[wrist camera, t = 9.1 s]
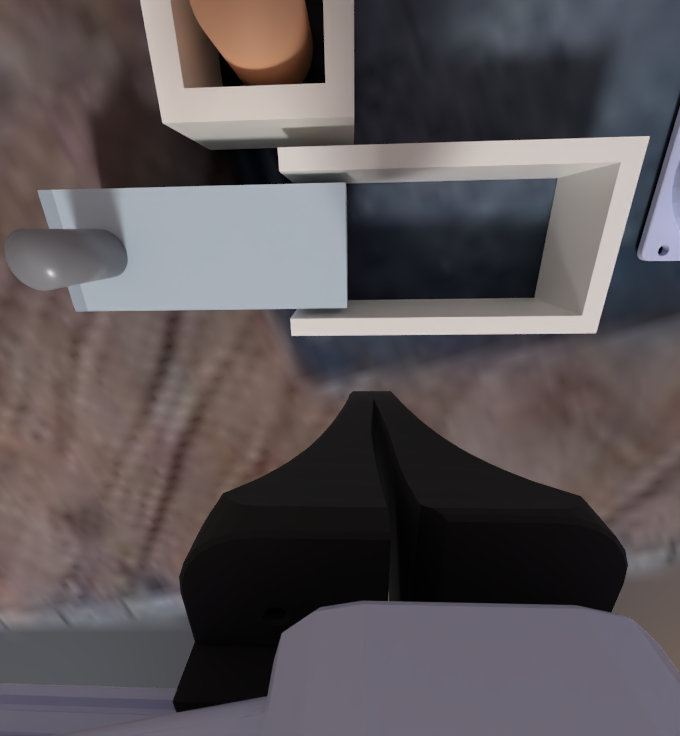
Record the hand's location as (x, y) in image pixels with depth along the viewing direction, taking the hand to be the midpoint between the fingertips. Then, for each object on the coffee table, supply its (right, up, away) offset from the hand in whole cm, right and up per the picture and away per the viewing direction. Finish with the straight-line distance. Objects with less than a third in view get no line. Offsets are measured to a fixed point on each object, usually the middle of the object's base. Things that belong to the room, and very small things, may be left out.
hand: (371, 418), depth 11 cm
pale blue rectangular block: (-7, +8, +7) cm, 13 cm away
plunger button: (-4, +15, +3) cm, 16 cm away
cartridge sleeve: (+3, +8, +7) cm, 11 cm away
